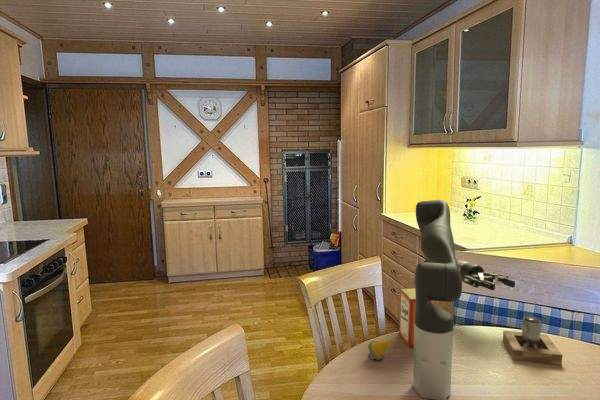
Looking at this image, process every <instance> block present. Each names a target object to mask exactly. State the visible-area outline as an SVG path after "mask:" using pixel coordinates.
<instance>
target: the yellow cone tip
mask: <svg viewBox="0 0 600 400" xmlns="http://www.w3.org/2000/svg"><path fill="white" fill-rule="evenodd" d="M392 342H393V339H388V340H380V341H375V340H373V341H370V342H369V343H368V345H367V346H368V347H367V348H368V349H367V350H368V351H369V354H368V355H367V356H368V357H369V359H370V360H371V359H372V360H371V361H373V360H374V359H375V360H377V361H380V360H382V359H384V356H385V353H386V352H387V350H388V348H389V346H390V345H391V344H392Z"/></svg>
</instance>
